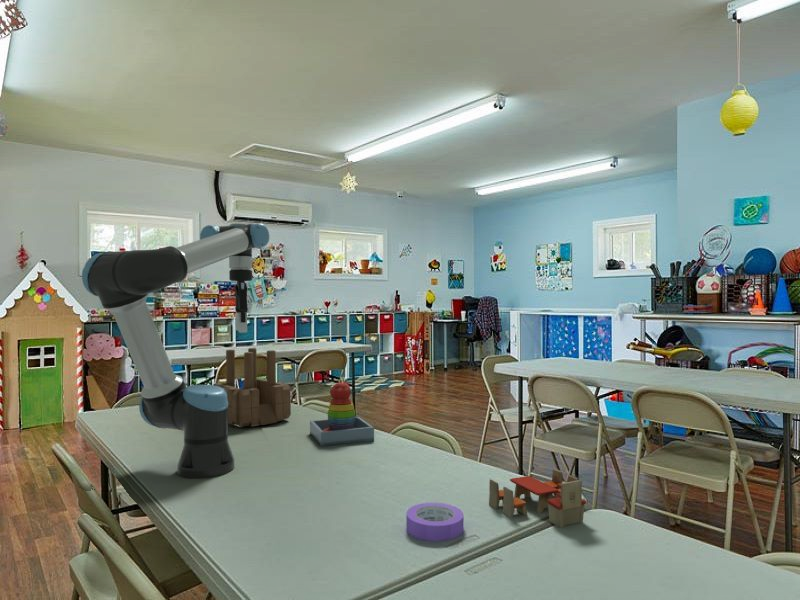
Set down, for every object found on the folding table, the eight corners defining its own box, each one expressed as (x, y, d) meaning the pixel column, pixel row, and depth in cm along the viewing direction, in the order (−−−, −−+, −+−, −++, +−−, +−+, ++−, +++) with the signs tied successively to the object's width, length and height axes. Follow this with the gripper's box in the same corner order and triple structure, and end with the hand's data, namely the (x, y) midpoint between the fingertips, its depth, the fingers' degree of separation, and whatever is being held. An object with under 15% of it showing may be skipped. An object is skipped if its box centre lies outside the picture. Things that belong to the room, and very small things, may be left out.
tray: (374, 440, 180) (374, 427, 180) (321, 446, 174) (320, 432, 174) (358, 428, 197) (358, 416, 197) (310, 433, 190) (309, 420, 190)
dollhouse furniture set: (551, 493, 131) (550, 452, 131) (609, 522, 114) (609, 476, 114) (484, 505, 124) (484, 462, 124) (536, 538, 107) (536, 489, 107)
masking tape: (474, 530, 110) (474, 511, 110) (439, 550, 102) (439, 530, 102) (430, 515, 118) (430, 498, 118) (394, 532, 110) (394, 514, 110)
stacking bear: (341, 428, 193) (341, 379, 193) (362, 433, 186) (361, 381, 186) (319, 434, 185) (318, 383, 184) (339, 439, 178) (339, 385, 178)
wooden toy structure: (241, 428, 198) (241, 355, 198) (207, 416, 220) (207, 349, 220) (295, 419, 214) (294, 350, 214) (258, 408, 236) (257, 346, 236)
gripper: (255, 267, 174) (256, 333, 174) (248, 271, 197) (249, 329, 197) (231, 267, 171) (232, 333, 171) (227, 271, 194) (227, 329, 194)
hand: (241, 331), depth 184 cm, fingers open, 13 cm apart
